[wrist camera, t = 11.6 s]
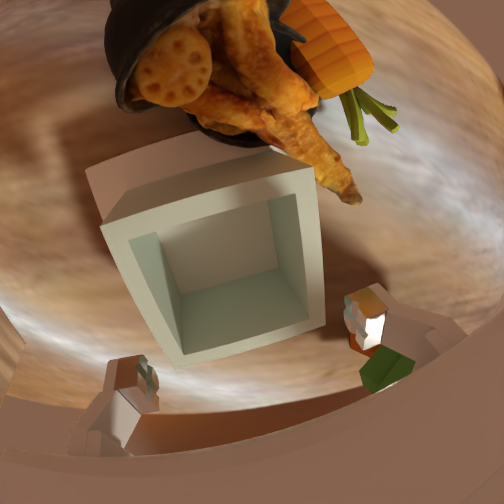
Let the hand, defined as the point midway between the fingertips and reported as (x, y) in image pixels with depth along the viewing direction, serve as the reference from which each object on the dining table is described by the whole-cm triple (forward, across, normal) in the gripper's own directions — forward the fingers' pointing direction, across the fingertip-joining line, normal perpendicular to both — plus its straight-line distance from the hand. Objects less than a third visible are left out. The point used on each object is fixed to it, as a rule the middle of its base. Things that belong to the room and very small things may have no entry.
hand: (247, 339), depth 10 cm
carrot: (+9, -5, -19) cm, 22 cm away
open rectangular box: (+11, 0, 0) cm, 11 cm away
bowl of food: (+7, 0, -16) cm, 18 cm away
